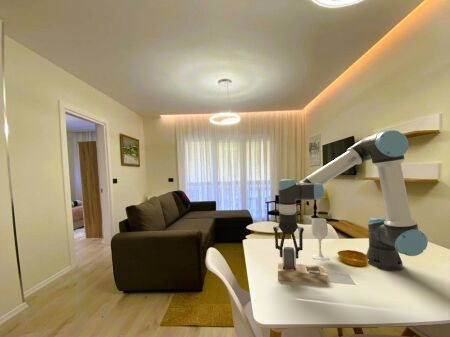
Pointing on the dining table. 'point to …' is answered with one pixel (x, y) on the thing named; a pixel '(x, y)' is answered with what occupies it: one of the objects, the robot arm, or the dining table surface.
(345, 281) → the pad
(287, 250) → the plug
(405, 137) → the robot arm
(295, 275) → the socket block
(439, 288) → the dining table surface
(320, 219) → the wineglass
